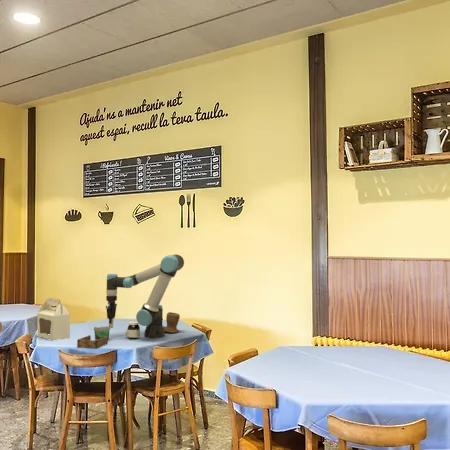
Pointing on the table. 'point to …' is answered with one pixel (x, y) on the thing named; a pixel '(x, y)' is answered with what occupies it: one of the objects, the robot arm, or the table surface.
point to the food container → (101, 332)
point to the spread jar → (133, 330)
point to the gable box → (53, 321)
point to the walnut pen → (91, 342)
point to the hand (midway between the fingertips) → (111, 327)
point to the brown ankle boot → (171, 322)
